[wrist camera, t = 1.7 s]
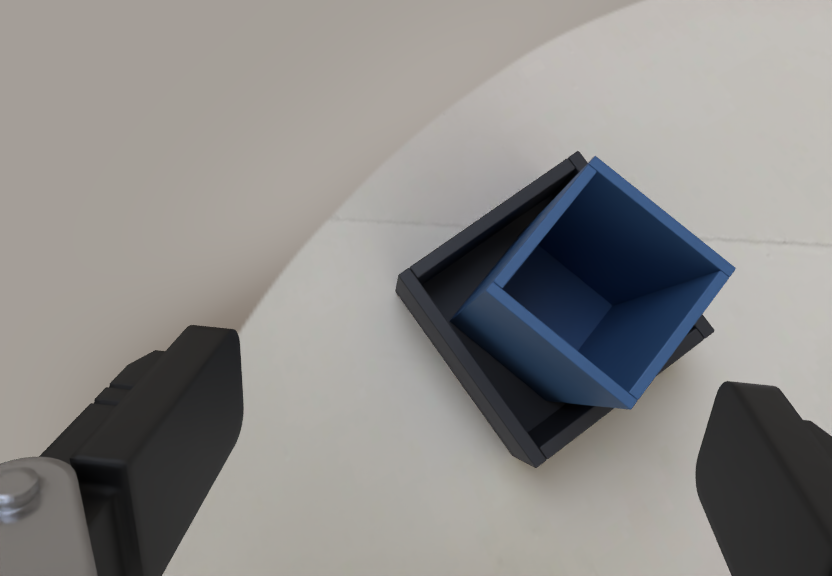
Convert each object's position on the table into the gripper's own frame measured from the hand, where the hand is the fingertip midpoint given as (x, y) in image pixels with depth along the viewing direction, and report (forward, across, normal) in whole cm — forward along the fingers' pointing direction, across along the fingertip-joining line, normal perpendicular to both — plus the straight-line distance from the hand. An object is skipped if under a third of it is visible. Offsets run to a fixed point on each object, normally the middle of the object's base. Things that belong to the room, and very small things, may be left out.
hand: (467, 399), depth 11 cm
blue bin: (+20, -4, +8) cm, 21 cm away
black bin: (+20, -3, +8) cm, 22 cm away
